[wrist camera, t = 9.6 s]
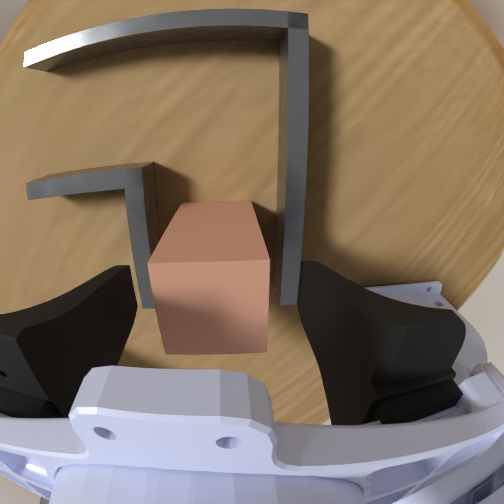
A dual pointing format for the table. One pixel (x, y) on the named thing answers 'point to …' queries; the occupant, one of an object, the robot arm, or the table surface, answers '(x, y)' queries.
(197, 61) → the table surface
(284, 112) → the channel rails
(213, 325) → the terracotta block
